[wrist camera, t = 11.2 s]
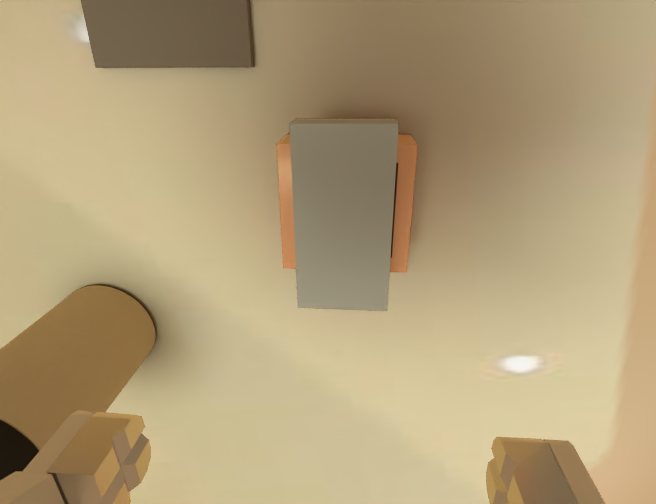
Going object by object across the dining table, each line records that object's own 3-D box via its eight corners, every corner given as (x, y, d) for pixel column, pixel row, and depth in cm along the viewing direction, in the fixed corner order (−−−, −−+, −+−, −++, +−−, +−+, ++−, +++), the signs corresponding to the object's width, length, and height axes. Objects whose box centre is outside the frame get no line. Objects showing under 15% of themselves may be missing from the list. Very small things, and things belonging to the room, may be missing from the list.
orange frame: (288, 133, 27) (276, 143, 23) (410, 134, 26) (417, 145, 23) (292, 243, 30) (283, 268, 27) (401, 247, 30) (406, 272, 26)
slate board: (296, 118, 23) (289, 123, 21) (395, 118, 22) (398, 124, 20) (302, 290, 27) (297, 307, 25) (385, 292, 27) (387, 311, 25)
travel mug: (57, 278, 33) (-236, 482, 17) (151, 288, 33) (-56, 506, 17) (75, 355, 37) (-154, 587, 20) (162, 365, 36) (-3, 609, 20)
